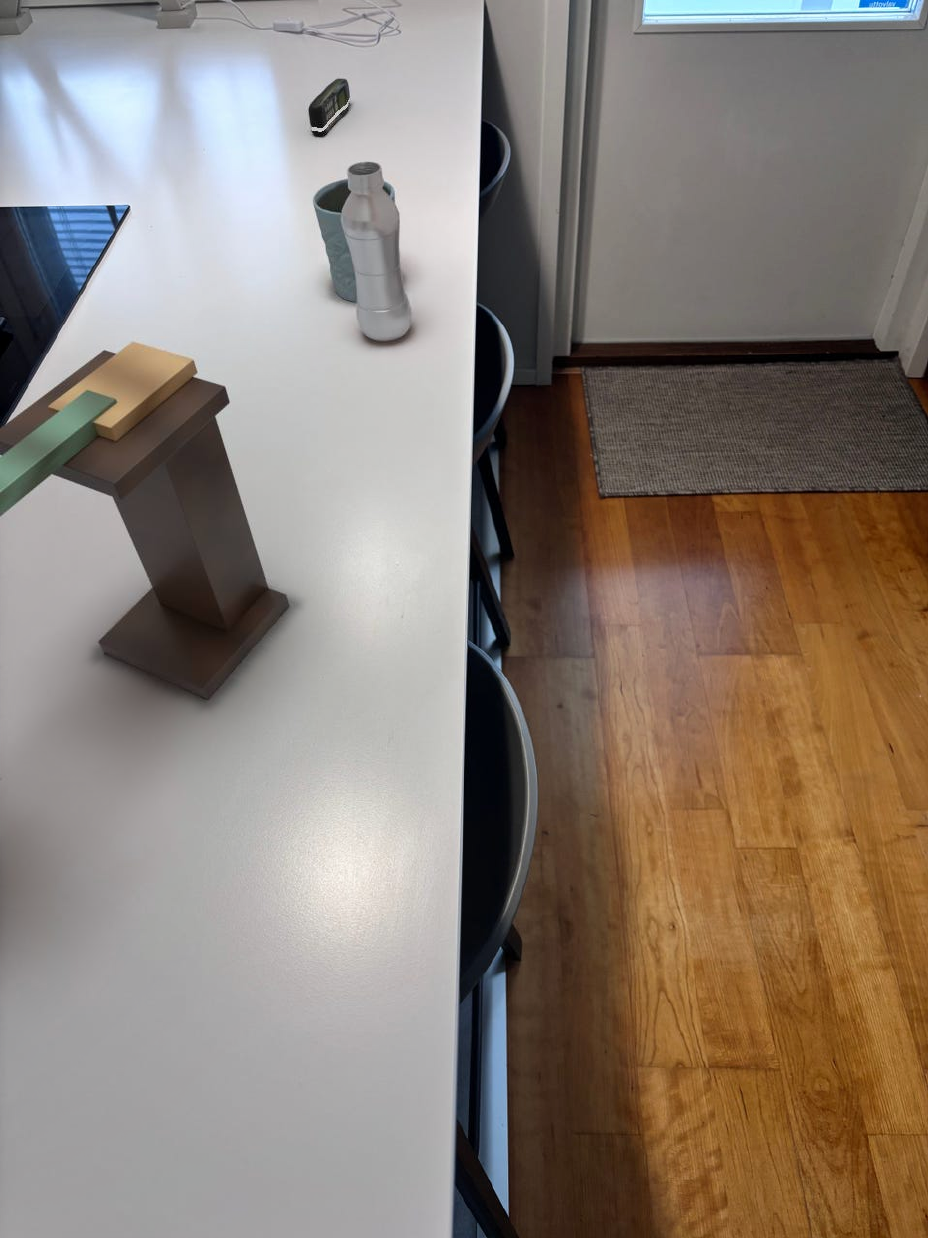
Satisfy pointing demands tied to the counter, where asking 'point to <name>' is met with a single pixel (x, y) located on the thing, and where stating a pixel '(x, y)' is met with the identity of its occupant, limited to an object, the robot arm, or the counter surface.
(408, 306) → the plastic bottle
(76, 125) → the counter surface
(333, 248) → the blue-grey embossed cup
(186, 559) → the brown pedestal stand
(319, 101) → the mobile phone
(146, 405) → the spatula
